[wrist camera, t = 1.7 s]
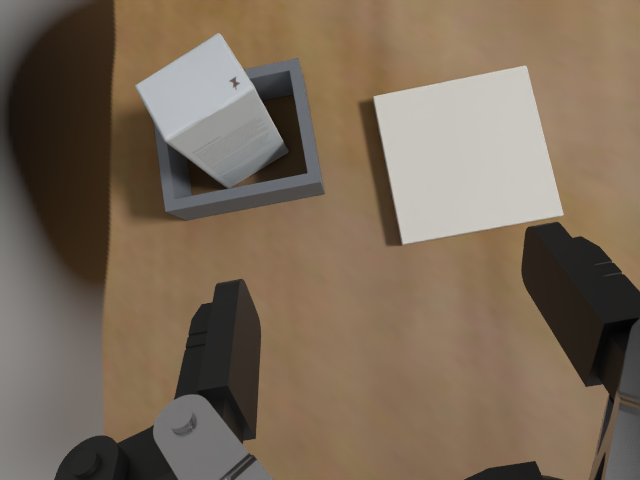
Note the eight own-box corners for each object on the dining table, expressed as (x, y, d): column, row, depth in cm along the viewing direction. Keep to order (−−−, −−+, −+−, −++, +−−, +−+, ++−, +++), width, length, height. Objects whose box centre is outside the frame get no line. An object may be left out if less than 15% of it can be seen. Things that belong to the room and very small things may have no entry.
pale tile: (373, 101, 37) (373, 96, 36) (521, 71, 36) (526, 65, 35) (401, 245, 36) (402, 244, 35) (557, 217, 35) (563, 215, 34)
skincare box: (264, 111, 38) (221, 28, 26) (290, 153, 37) (257, 88, 26) (202, 149, 38) (131, 83, 26) (226, 191, 37) (165, 144, 26)
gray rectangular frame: (170, 110, 39) (149, 89, 35) (304, 82, 38) (298, 58, 34) (185, 220, 37) (165, 211, 33) (324, 194, 37) (320, 181, 33)
